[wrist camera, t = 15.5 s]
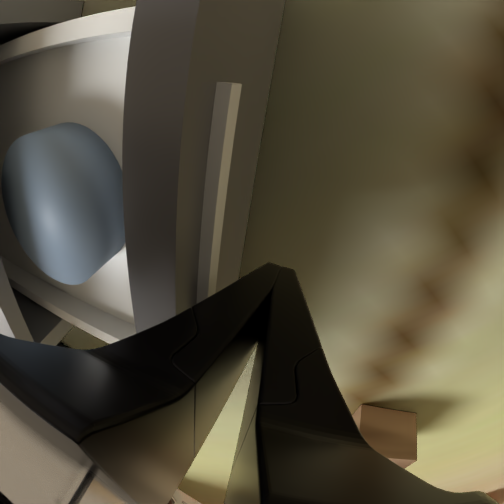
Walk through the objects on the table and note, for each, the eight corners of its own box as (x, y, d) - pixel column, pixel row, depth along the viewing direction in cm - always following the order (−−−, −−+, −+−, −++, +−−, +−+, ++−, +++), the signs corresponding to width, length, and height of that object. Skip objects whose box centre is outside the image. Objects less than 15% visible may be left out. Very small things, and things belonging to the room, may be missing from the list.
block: (387, 439, 18) (384, 480, 15) (338, 431, 18) (331, 474, 15) (416, 413, 15) (416, 460, 12) (361, 404, 16) (357, 454, 13)
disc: (139, 274, 12) (113, 302, 11) (46, 245, 14) (21, 265, 12) (125, 119, 9) (86, 131, 7) (25, 126, 10) (-8, 138, 9)
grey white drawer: (230, 364, 16) (190, 453, 11) (9, 262, 19) (-39, 301, 14) (297, -15, 7) (243, -108, 2) (-14, 41, 10) (-84, 57, 5)
